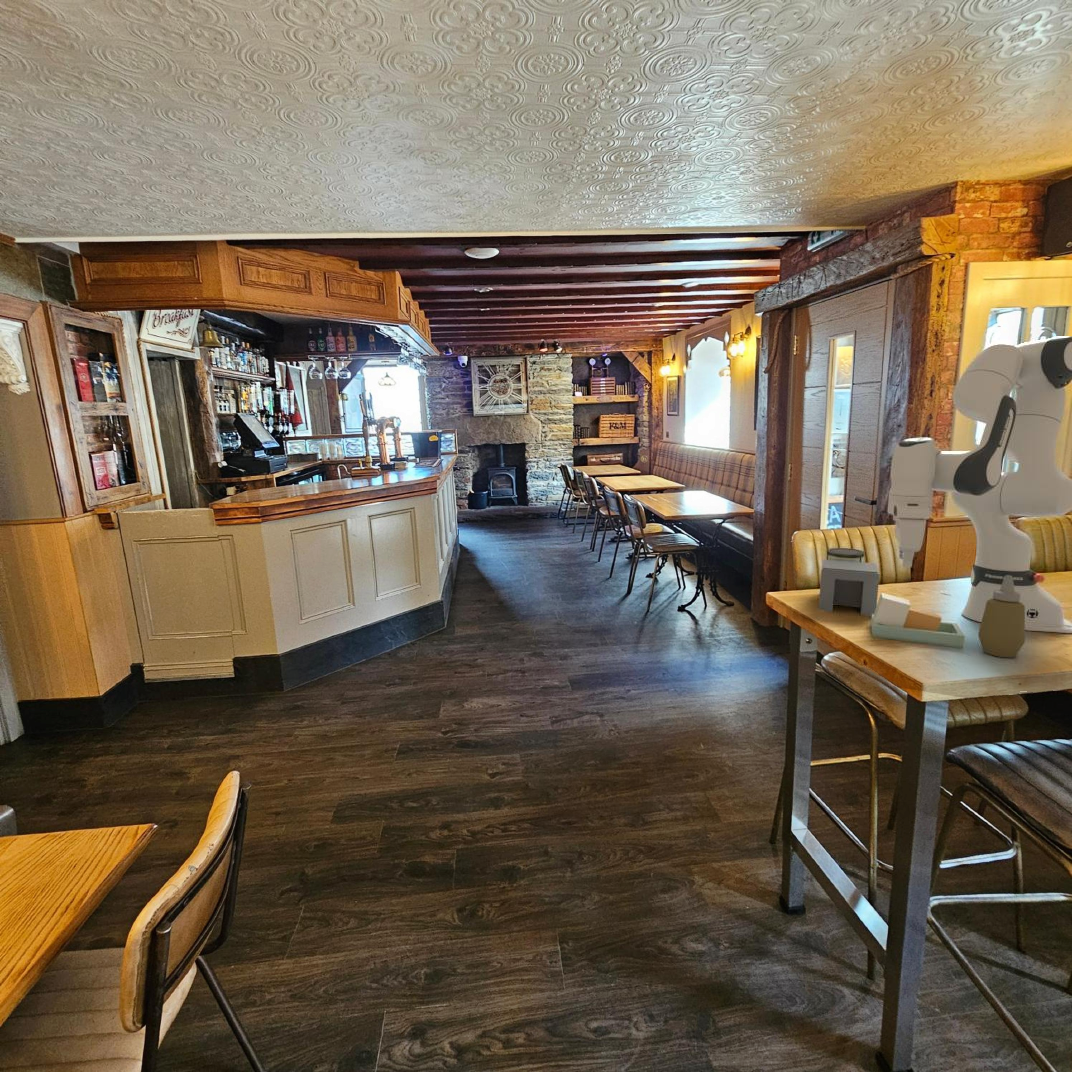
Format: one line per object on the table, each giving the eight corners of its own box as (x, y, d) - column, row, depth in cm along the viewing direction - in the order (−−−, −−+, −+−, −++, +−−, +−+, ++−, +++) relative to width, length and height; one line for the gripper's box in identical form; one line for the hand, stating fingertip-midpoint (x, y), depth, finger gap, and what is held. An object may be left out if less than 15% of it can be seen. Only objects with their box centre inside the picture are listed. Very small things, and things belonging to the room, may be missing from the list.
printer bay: (873, 604, 166) (876, 563, 164) (875, 616, 154) (879, 572, 152) (819, 598, 172) (822, 559, 170) (818, 610, 161) (821, 568, 159)
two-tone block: (873, 616, 145) (881, 592, 143) (932, 632, 139) (941, 608, 138) (874, 621, 140) (882, 597, 139) (935, 639, 135) (944, 614, 133)
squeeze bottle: (1022, 663, 122) (1033, 582, 119) (975, 654, 127) (984, 576, 124) (1022, 652, 128) (1033, 575, 125) (977, 644, 133) (986, 570, 130)
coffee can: (818, 590, 181) (821, 547, 179) (852, 591, 180) (855, 547, 178) (831, 599, 171) (835, 554, 169) (867, 600, 170) (871, 554, 168)
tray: (955, 635, 139) (956, 623, 139) (963, 648, 131) (964, 635, 130) (870, 625, 148) (871, 613, 147) (872, 636, 139) (873, 625, 138)
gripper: (890, 501, 146) (886, 553, 148) (897, 511, 128) (893, 570, 131) (919, 501, 143) (915, 555, 145) (931, 512, 125) (925, 573, 128)
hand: (904, 562), depth 138 cm, fingers open, 8 cm apart
